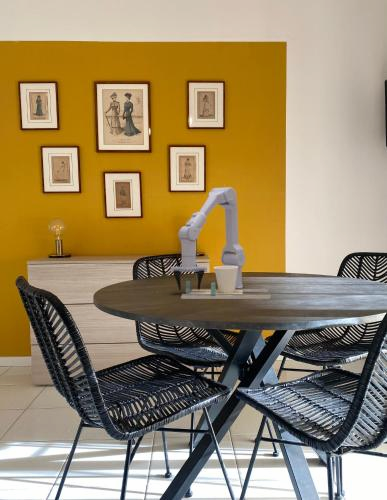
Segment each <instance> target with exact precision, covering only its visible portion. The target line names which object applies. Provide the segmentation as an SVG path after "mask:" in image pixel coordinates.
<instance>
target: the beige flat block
mask: <svg viewBox="0 0 387 500" xmlns="http://www.w3.org/2000/svg"><path fill="white" fill-rule="evenodd" d="M191 281H192V280H191V279H186V280H185V289H186V292H185V294H211V290H191V289H192V284H191V283H192V282H191ZM215 294H244V292H243V291H242V290H235V292H234V293H220V292H219V290H215Z"/></svg>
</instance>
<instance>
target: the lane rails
mask: <svg viewBox="0 0 387 500" xmlns="http://www.w3.org/2000/svg"><path fill="white" fill-rule="evenodd" d="M184 290H185V291H184V292H185V293H181V295H180V298H181V300H193V299H195V300H196V299H197V300H199V299H200V300H210V299H211V300H220V299H221V300H226V299H227V300H237V299H238V300H239V299H240V300H242V299H243V300H247V299H248V300H253V299H254V300H271V298H272V297H271V294H270V293H269V289H268V288H235V290H242V291H243V294H215V290H219V289H218V288H216V282H211V283H210V288H200V290H211V294H186V288H185V289H184ZM191 290H198V288H191ZM247 292H249V293H247ZM257 292H258V293H257ZM265 292H266V293H265ZM267 292H268V293H267Z"/></svg>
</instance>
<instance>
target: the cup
mask: <svg viewBox="0 0 387 500" xmlns="http://www.w3.org/2000/svg"><path fill="white" fill-rule="evenodd" d="M213 269H214V273H215V277H216V278H215V279H216V283H217V289H219V292H220V293H234V292H235V289H236V288H235V286H236V278H237V271H238V266H224V265H221V266H219V265H218V266H214V267H213Z"/></svg>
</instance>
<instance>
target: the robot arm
mask: <svg viewBox="0 0 387 500" xmlns="http://www.w3.org/2000/svg"><path fill="white" fill-rule="evenodd" d="M217 205H219V206H221V207H222V208H223V209H224V218H225V219H224V220H225V221H224V222H225V224H224V225H225V246H224V247H223V248H222V253H221V256H220V259H221V264H223V265H222V266H238V271H237V278H236V286H235V289H244V288H243V281H242V280H243V279H242V278H243V277H242V270H243V267H244V265H245V263H246V254H245V252H244V248H243V247H242V246H241V245H240V243H239V218H238V217H239V215H238V213H239V211H238V202H237V191H236V190H235V189H234V187H231V186H228V187H227V186H226V187H214V188H212V189H211V190H210V191H209V193H208V197H207V198H206V200H205V202H204V204H203V205H202V207H201V208H200V210H199V211H196V212H194V213H192V214H191V215H192V216H191V218H190V219H189V220H188V221H187V222H186V223H185V224H186V225H185V226H184V225H183V226H182V227H181V228H180V229H179V231H178V233H177V235H178V238H179V241H180V244H181V266H171V267H170V273H173V274H172V275H173V276H174V278H175V281H176V283H177V288H178V290H179V291H180V290H182V284H181V277H182V276H181V275H182V273H185V272H186V273H187V272H193V273H195V272H196V273H197V289H198V290H200V289H201V283H202V280H203V277H204V274H205V272H206V273H208V266H200V265H199V266H197V249H196V248H197V247H196V245H197V244H196V243H197V242H196V241H197V239H198V238H199V236H200V231H201V229H202V228H203V226H204V225H205V223H206V222H207V216H208V215H209V214H210V213H211V212H212V211H213V210H214V208H215V207H216V206H217Z"/></svg>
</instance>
